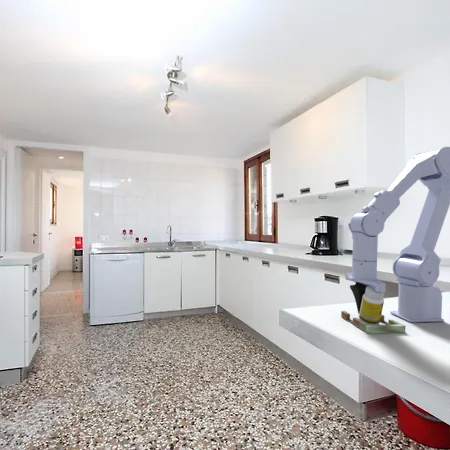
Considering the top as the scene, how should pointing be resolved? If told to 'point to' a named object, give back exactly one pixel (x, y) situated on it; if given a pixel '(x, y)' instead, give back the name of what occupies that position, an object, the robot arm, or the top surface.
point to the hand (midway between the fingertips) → (362, 313)
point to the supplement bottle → (371, 306)
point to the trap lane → (371, 329)
